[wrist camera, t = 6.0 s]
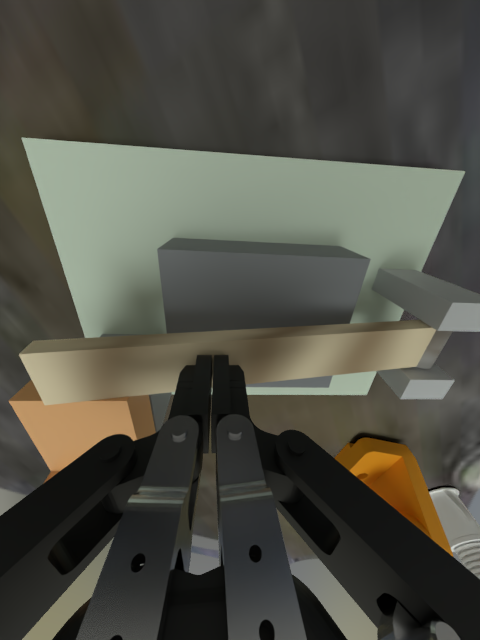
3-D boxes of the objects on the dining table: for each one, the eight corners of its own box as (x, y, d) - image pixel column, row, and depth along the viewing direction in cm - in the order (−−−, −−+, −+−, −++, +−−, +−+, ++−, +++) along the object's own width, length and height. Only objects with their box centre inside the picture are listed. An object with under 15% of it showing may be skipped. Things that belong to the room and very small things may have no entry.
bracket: (358, 430, 30) (428, 555, 20) (401, 439, 32) (488, 559, 21) (319, 474, 35) (359, 593, 24) (359, 479, 36) (413, 595, 26)
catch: (143, 367, 13) (116, 422, 10) (157, 441, 17) (140, 500, 13) (45, 366, 13) (-16, 422, 10) (79, 442, 16) (42, 503, 13)
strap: (436, 316, 15) (461, 328, 14) (417, 353, 16) (437, 367, 15) (37, 337, 10) (14, 358, 9) (58, 385, 12) (41, 410, 10)
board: (439, 174, 16) (618, 153, 9) (357, 381, 26) (409, 456, 18) (46, 144, 14) (-147, 87, 7) (112, 379, 24) (59, 462, 16)
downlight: (425, 485, 38) (483, 573, 29) (465, 482, 38) (534, 569, 30) (408, 506, 42) (454, 588, 34) (444, 503, 42) (500, 584, 34)
